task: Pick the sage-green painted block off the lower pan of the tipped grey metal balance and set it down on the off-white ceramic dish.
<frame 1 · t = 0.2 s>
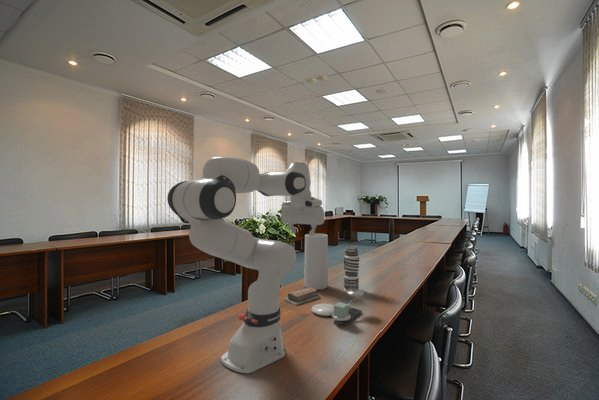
hand: (302, 234, 122), 39 cm above the table, tool pointing down, fingers open, 8 cm apart
vase: (316, 287, 175), on the table
block: (341, 315, 124), point 4 cm above the table, touching balance
balance: (348, 317, 130), on the table
packaged product: (302, 300, 154), on the table
dish: (325, 311, 137), on the table
decorative candle: (351, 290, 169), on the table
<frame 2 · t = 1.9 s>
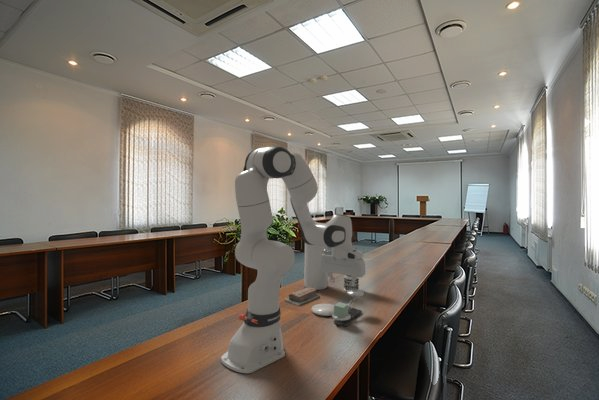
hand: (342, 284, 124), 17 cm above the table, tool pointing down, fingers open, 8 cm apart
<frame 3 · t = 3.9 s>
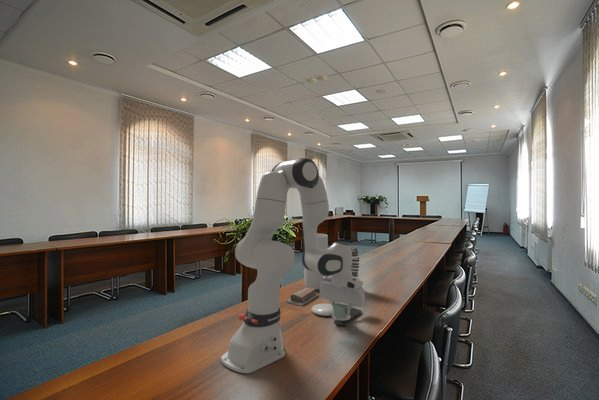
hand: (341, 312, 124), 5 cm above the table, tool pointing down, fingers closed on block, 4 cm apart
block: (341, 315, 124), point 4 cm above the table, touching balance, gripper
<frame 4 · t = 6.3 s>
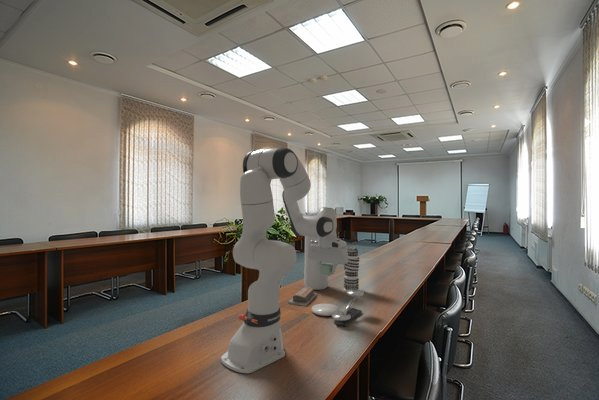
hand: (327, 271, 136), 19 cm above the table, tool pointing down, fingers closed on block, 4 cm apart
block: (327, 274, 135), point 18 cm above the table, touching gripper
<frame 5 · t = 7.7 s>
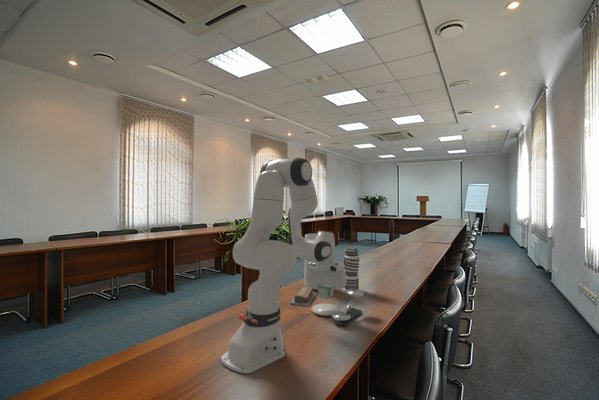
hand: (325, 293, 137), 8 cm above the table, tool pointing down, fingers closed on block, 4 cm apart
block: (325, 296, 137), point 7 cm above the table, touching gripper
when the fingers open (4 cm above the table, at t = 8.7 s): block drops 1 cm, resting on dish.
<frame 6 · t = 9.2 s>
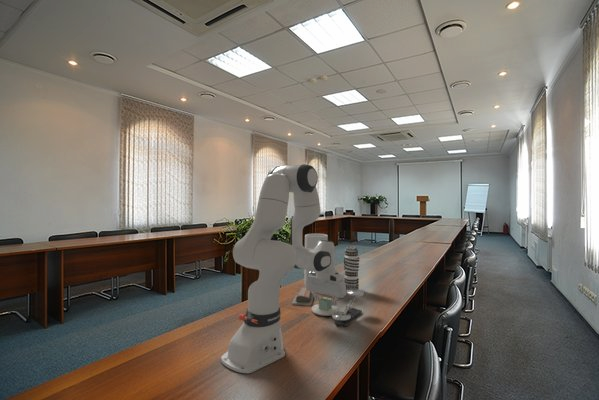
hand: (325, 303, 137), 4 cm above the table, tool pointing down, fingers open, 8 cm apart
block: (325, 308, 137), point 1 cm above the table, touching dish
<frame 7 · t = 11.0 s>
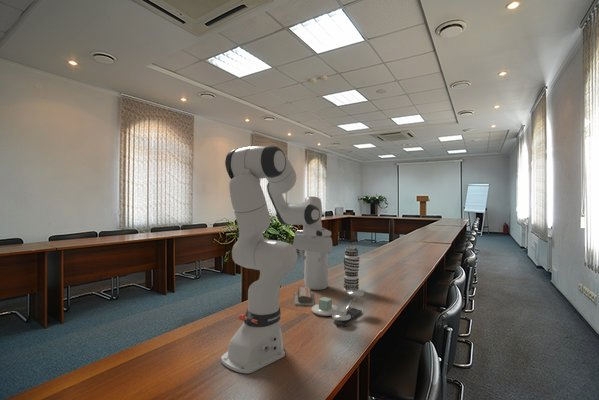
hand: (311, 260, 135), 24 cm above the table, tool pointing down, fingers open, 8 cm apart
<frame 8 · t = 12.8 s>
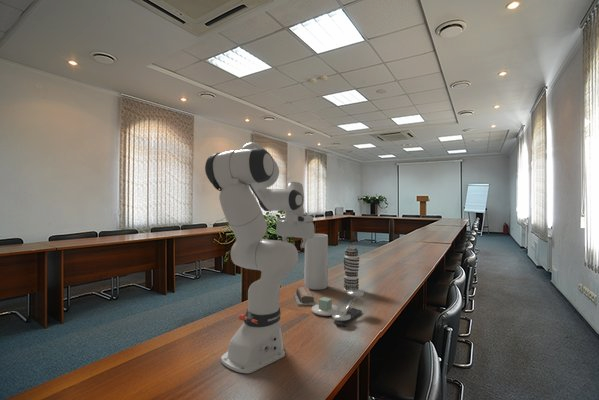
hand: (294, 246, 135), 31 cm above the table, tool pointing down, fingers open, 8 cm apart
at the end: block inside the target area on the dish (0.1 cm from its centre), point 1.5 cm above the dish's base; block tilted 0°; the gripper is holding nothing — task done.
